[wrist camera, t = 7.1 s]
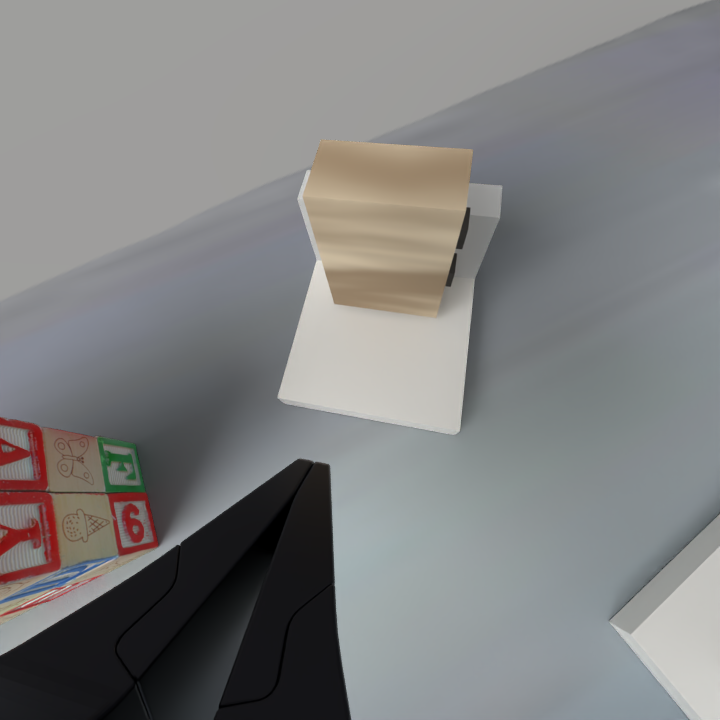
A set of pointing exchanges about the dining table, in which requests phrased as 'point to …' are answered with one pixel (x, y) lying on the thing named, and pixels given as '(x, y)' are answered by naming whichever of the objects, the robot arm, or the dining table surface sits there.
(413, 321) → the white l-shaped holder
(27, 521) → the stack of blocks
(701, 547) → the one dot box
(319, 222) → the two dot key
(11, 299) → the dining table surface
